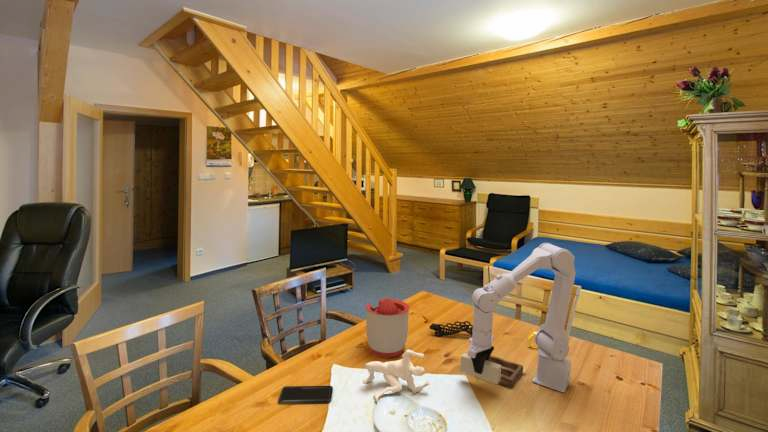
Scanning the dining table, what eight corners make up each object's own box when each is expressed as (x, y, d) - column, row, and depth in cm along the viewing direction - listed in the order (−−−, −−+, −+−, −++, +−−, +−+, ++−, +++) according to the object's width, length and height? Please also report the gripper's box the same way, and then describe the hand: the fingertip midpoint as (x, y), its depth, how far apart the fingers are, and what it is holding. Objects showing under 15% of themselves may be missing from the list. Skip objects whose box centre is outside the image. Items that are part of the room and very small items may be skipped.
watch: (542, 347, 149) (544, 332, 148) (544, 350, 146) (547, 335, 145) (526, 345, 149) (528, 330, 148) (528, 348, 146) (530, 333, 146)
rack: (522, 373, 130) (523, 365, 129) (511, 388, 121) (511, 380, 120) (477, 358, 139) (477, 350, 139) (463, 371, 130) (463, 363, 130)
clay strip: (500, 380, 118) (501, 365, 117) (497, 384, 116) (498, 368, 115) (463, 367, 125) (464, 352, 125) (460, 370, 123) (460, 355, 123)
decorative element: (485, 335, 158) (486, 321, 158) (487, 340, 153) (488, 326, 153) (429, 332, 160) (429, 318, 159) (429, 337, 155) (430, 323, 154)
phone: (331, 401, 112) (277, 401, 111) (331, 404, 112) (277, 405, 111) (333, 385, 120) (283, 385, 119) (333, 388, 120) (283, 389, 119)
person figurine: (366, 367, 111) (423, 347, 117) (355, 355, 123) (407, 338, 129) (376, 412, 111) (433, 390, 117) (365, 396, 123) (416, 377, 129)
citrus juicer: (383, 335, 156) (384, 286, 153) (417, 351, 143) (418, 298, 141) (353, 348, 145) (353, 296, 142) (386, 366, 132) (388, 309, 130)
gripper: (479, 317, 127) (477, 357, 129) (459, 332, 115) (457, 376, 117) (501, 323, 122) (498, 364, 124) (482, 339, 111) (479, 384, 113)
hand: (480, 370), depth 120 cm, fingers closed on clay strip, 2 cm apart
